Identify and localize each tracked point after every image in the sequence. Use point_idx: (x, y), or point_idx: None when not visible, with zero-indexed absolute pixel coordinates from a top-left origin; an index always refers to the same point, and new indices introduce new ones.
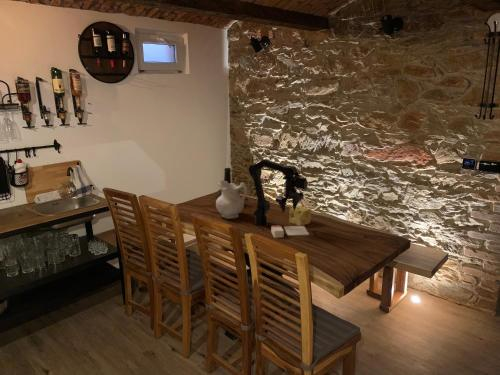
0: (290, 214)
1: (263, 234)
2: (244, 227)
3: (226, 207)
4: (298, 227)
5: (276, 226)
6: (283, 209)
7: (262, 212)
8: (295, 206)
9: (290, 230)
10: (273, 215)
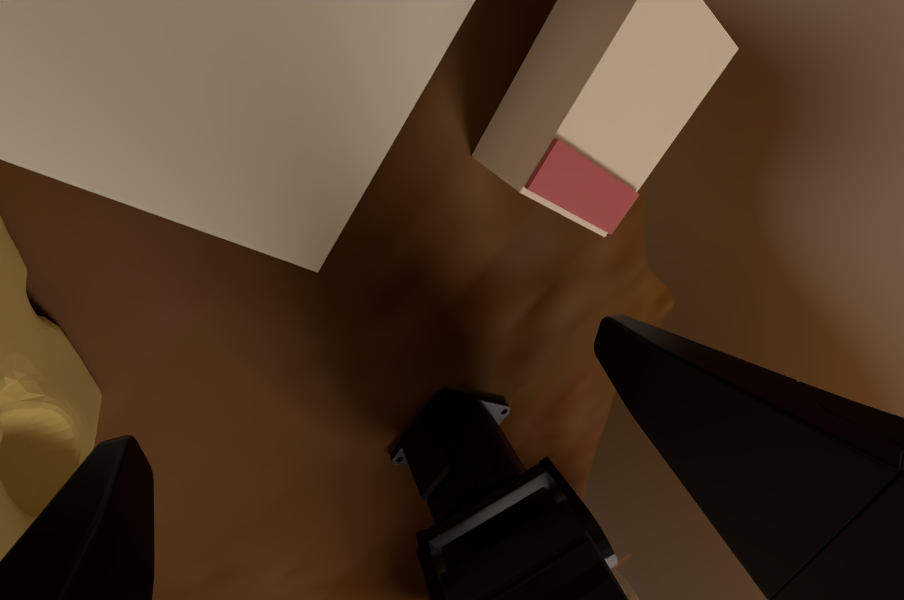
0: None
1: (638, 196)
2: (596, 387)
3: (631, 592)
4: (77, 111)
5: (600, 175)
6: (725, 367)
7: (571, 498)
8: (71, 577)
9: (334, 83)
10: (190, 575)
